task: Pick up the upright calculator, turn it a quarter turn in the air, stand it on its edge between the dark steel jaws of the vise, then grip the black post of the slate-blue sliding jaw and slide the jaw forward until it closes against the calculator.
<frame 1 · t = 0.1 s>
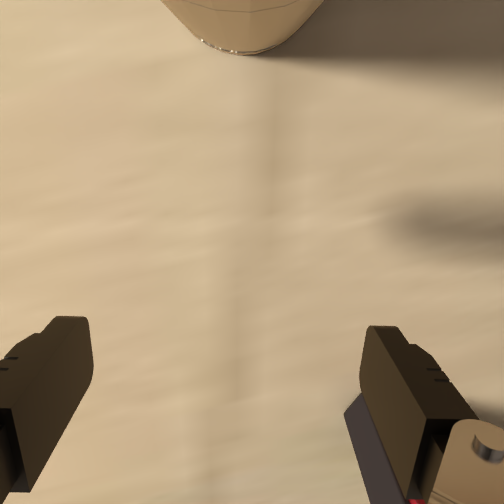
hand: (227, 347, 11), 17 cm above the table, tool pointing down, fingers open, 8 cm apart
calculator: (399, 420, 36), on the table
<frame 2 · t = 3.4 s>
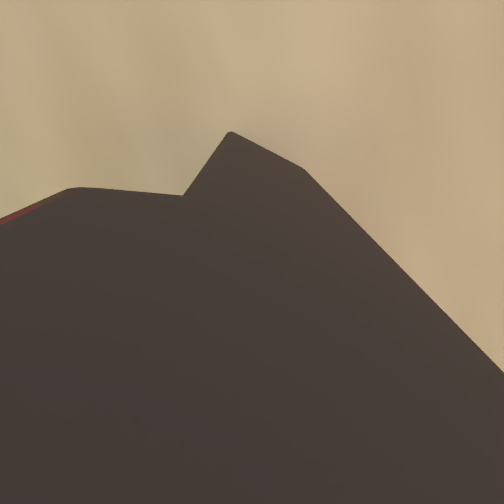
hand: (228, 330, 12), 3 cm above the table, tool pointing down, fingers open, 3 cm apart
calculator: (204, 278, 15), on the table
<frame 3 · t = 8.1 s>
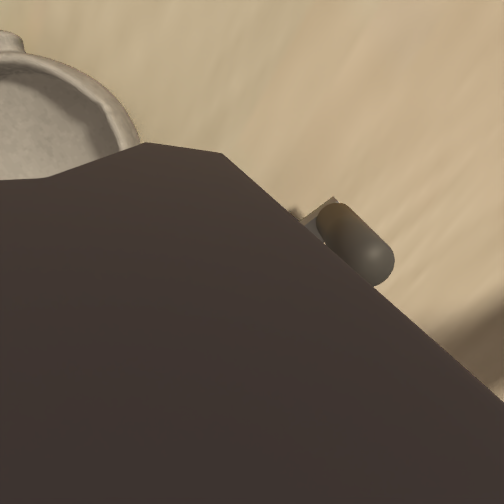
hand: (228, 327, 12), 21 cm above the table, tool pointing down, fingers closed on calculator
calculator: (173, 282, 16), point 17 cm above the table, touching gripper
sliding jaw: (293, 266, 27), point 7 cm above the table, slide at 0.0 cm
dish: (58, 148, 31), on the table
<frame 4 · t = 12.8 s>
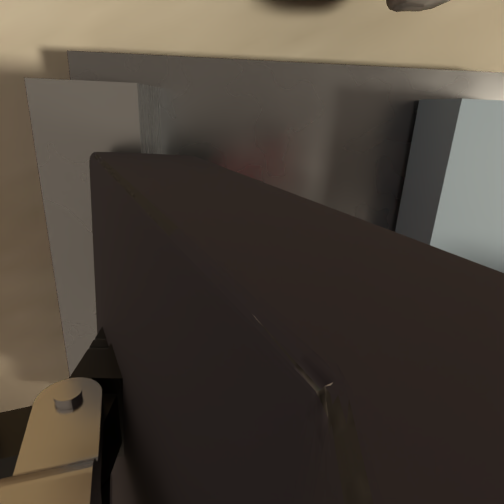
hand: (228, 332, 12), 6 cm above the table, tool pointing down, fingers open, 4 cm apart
vise: (317, 264, 17), on the table
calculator: (143, 316, 13), point 4 cm above the table
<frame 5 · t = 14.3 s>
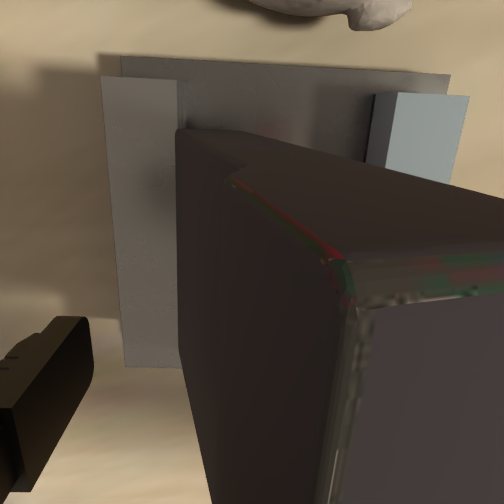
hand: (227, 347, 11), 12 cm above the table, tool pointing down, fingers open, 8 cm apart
vise: (304, 221, 22), on the table
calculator: (208, 247, 19), point 4 cm above the table, touching gripper
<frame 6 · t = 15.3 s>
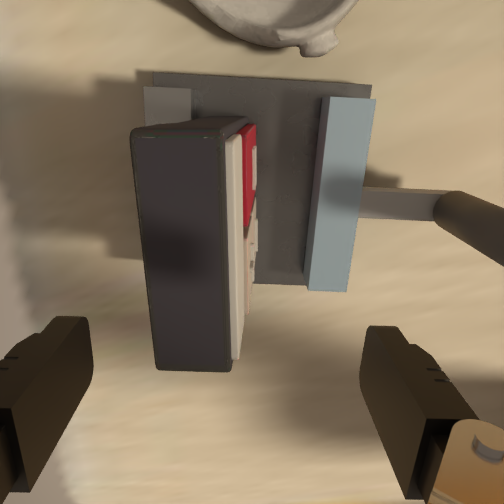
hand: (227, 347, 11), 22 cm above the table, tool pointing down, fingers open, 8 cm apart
vise: (278, 187, 32), on the table
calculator: (231, 190, 30), point 1 cm above the table, touching vise
sliding jaw: (409, 216, 25), point 7 cm above the table, slide at 0.0 cm
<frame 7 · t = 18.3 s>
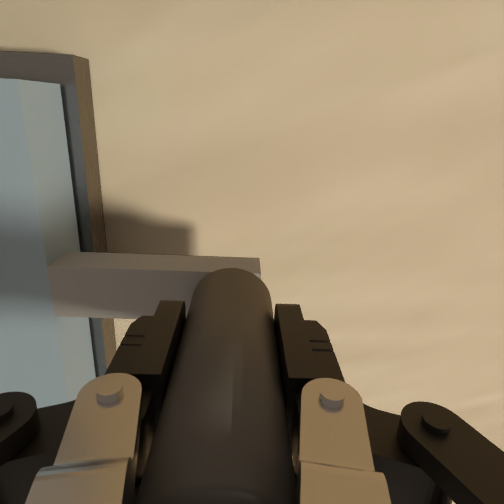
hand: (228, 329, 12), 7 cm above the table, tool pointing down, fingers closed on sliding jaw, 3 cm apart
sliding jaw: (90, 338, 11), point 7 cm above the table, slide at 0.0 cm, touching gripper
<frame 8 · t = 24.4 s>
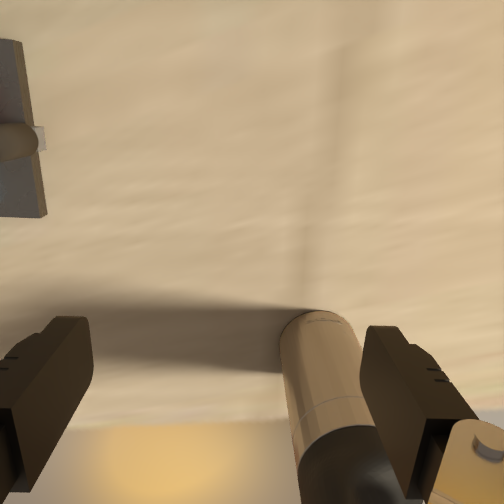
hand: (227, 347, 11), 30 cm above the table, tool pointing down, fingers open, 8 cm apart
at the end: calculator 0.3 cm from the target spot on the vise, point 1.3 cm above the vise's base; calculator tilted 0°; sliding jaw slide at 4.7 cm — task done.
